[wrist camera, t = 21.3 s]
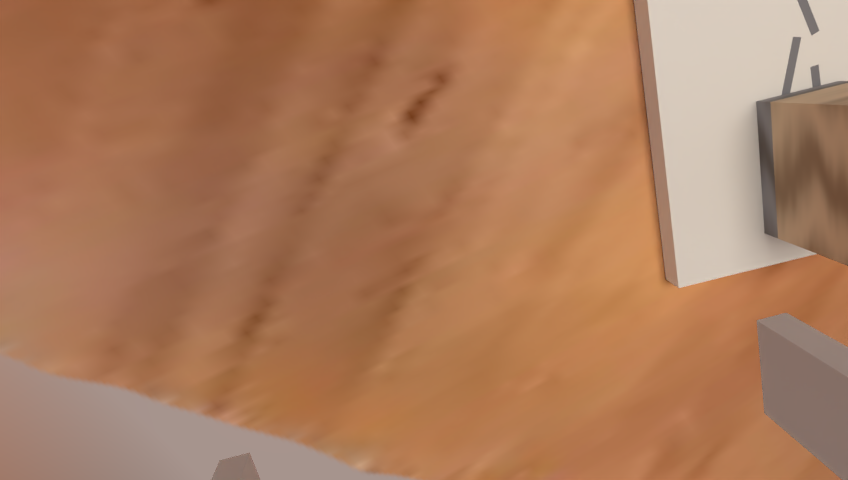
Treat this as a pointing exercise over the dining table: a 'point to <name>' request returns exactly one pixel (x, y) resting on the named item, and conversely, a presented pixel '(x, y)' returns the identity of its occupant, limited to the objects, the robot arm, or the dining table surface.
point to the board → (725, 118)
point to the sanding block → (806, 168)
